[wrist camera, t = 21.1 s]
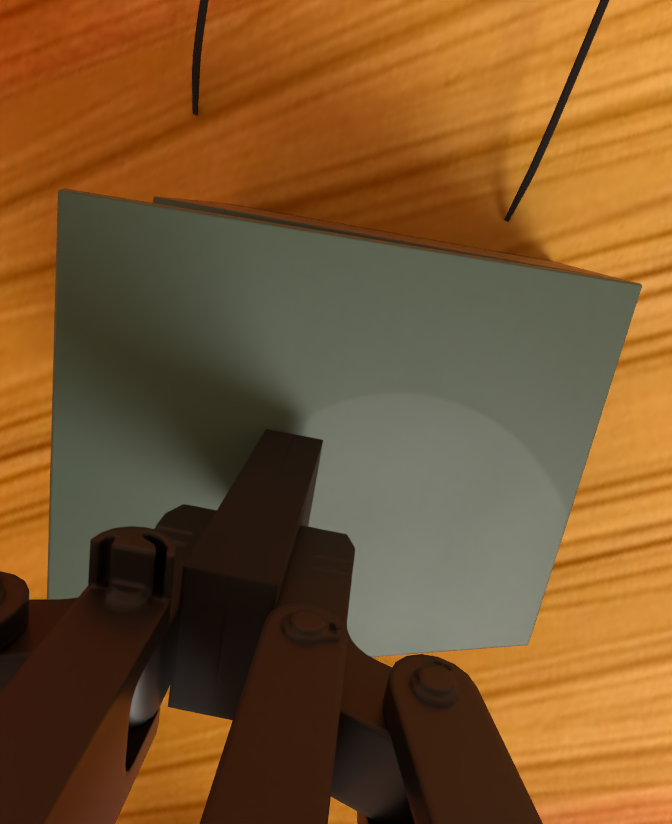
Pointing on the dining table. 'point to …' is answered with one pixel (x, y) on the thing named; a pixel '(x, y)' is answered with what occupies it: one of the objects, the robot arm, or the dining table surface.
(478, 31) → the dining table surface
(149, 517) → the lid
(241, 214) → the chest
